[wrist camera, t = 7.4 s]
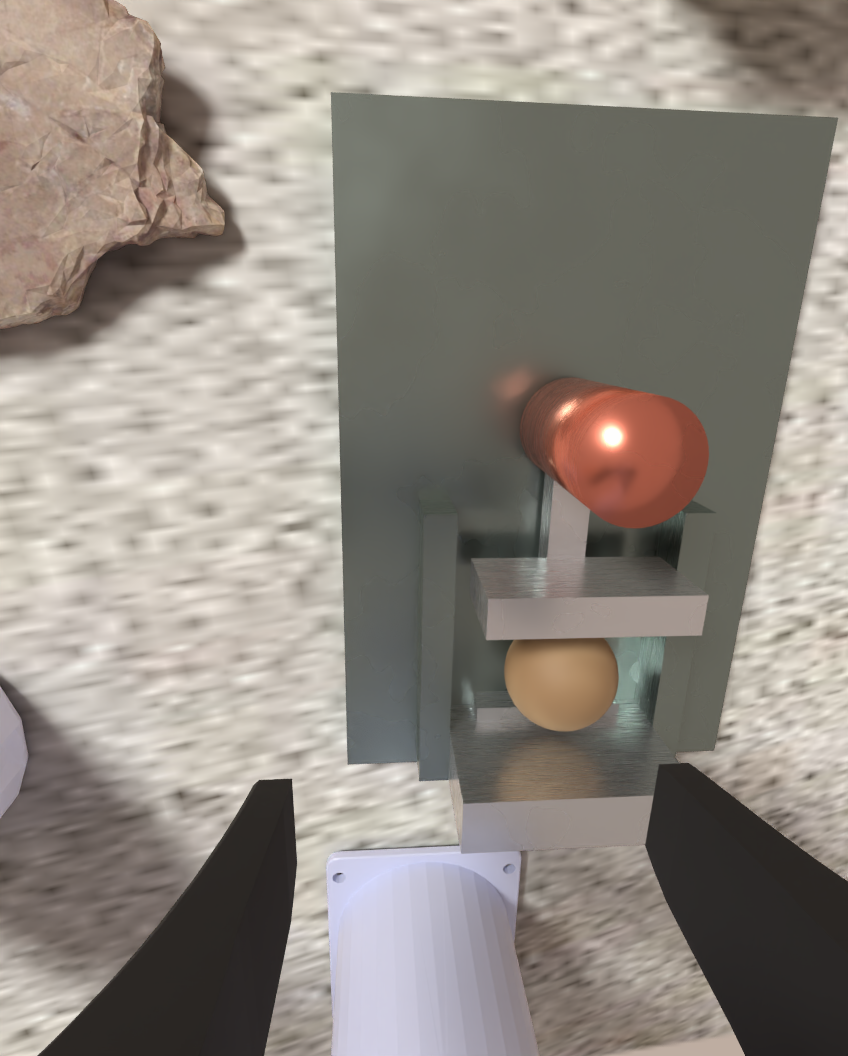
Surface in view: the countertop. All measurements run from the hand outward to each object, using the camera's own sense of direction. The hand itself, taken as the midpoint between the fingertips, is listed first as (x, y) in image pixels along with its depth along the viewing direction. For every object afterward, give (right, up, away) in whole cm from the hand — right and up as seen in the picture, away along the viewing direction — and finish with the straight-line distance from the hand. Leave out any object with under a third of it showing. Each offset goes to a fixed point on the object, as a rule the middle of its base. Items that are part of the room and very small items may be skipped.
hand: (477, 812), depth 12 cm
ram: (+3, +7, +7) cm, 11 cm away
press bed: (+3, +7, +9) cm, 12 cm away
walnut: (+3, +1, +9) cm, 10 cm away
